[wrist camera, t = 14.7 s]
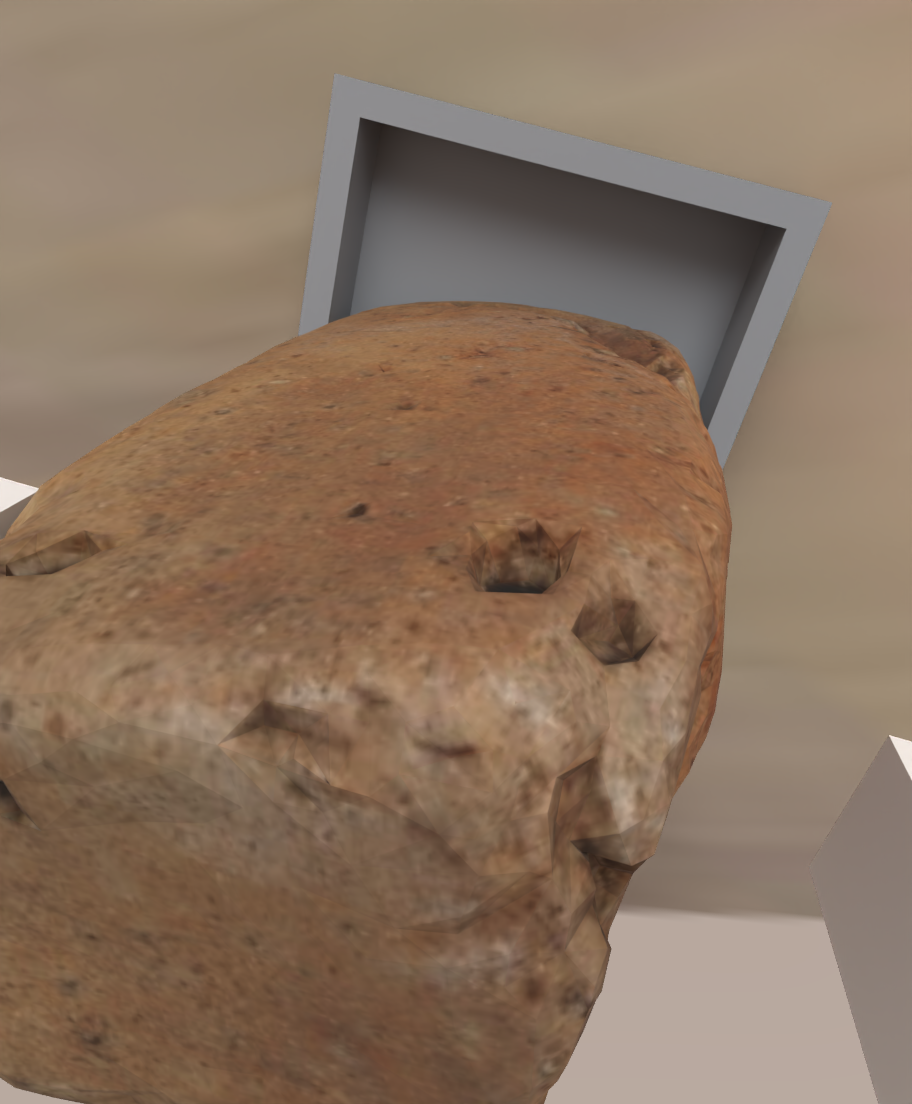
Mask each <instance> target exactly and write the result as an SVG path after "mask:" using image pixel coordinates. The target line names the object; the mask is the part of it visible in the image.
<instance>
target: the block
mask: <svg viewBox="0 0 912 1104" xmlns="http://www.w3.org/2000/svg"><path fill="white" fill-rule="evenodd" d="M731 531H732V522H731V516H730V508H729V503H728V498H727V493H726V487H725V482H724V477H723V472H722V468H721V466H720V464H719V462H718V457H717V453H716V449H715V446H714V444H713V442H712V439H711V437H710V435H709V433H708V430H707V428H706V427H705V426H704V423H703V420H702V416H701V412H700V407H699V395H698V393H697V391H696V385H695V381H694V376H693V374H692V372H691V370H690V368H689V366H688V364H687V362H686V361H685V359H684V357H683V356H682V354H681V352H680V351H679V349H678V348H677V347H675V346H674V345H673V344H671V343H670V342H669V341H667V340H666V339H664V338H663V337H661V336H659V335H657V334H655V333H653V332H651V331H644V330H636V329H632V328H630V327H629V326H626V325H622V324H618V323H614V322H610V321H606V320H602V319H599V318H595V317H591V316H587V315H582V314H577V313H572V312H567V311H562V310H556V309H548V308H539V307H534V306H529V305H522V304H512V303H503V302H483V301H436V302H416V303H408V304H399V305H390V306H382V307H378V308H374V309H370V310H366V311H362V312H360V313H358V314H354V315H351V316H348V317H345V318H342V319H339V320H336V321H333V322H331V323H328V324H326V325H324V326H322V327H319V328H317V329H315V330H312V331H310V332H308V333H305V334H303V335H300V336H297V337H295V338H293V339H291V340H289V341H286V342H284V343H282V344H279V345H277V346H275V347H273V348H271V349H269V350H268V351H266V352H264V353H262V354H261V355H259V356H257V357H255V358H253V359H252V360H250V361H248V362H247V363H245V364H243V365H241V366H238V367H236V368H234V369H233V370H231V371H229V372H227V373H225V374H223V375H222V376H220V377H218V378H216V379H214V380H212V381H209V382H207V383H205V384H203V385H201V386H199V387H196V388H194V389H192V390H190V391H188V392H186V393H184V394H182V395H180V396H179V397H177V398H175V399H174V400H172V401H170V402H169V403H167V404H165V405H164V406H162V407H160V408H159V409H157V410H156V411H154V412H153V413H152V414H150V415H149V416H147V417H145V418H143V419H142V420H140V421H138V422H136V423H135V424H133V425H131V426H129V427H128V428H126V429H124V430H123V432H120V433H119V434H117V435H115V436H114V437H112V438H111V439H109V440H108V441H106V442H104V443H103V444H101V445H100V446H98V447H96V448H95V449H93V450H92V451H91V452H89V453H88V454H86V455H85V456H83V457H82V458H80V459H79V460H77V461H76V462H74V463H73V464H71V465H70V466H68V467H67V468H65V469H64V470H62V471H61V472H59V473H58V474H57V475H55V476H54V477H52V478H51V479H50V480H48V481H47V482H46V483H44V484H43V485H42V486H40V488H39V489H38V490H37V492H36V493H35V494H34V496H33V497H32V498H31V500H30V501H29V502H28V504H27V505H26V506H25V508H24V509H23V510H22V512H21V513H20V515H19V516H18V517H17V519H16V520H15V521H14V523H13V524H12V525H11V527H10V528H9V529H8V531H7V533H6V536H5V538H3V539H1V540H0V1078H2V1079H3V1080H4V1081H6V1082H7V1083H9V1084H11V1085H12V1086H13V1087H15V1088H19V1089H22V1090H26V1091H30V1092H34V1093H38V1094H42V1095H46V1096H50V1097H54V1098H59V1099H64V1100H69V1101H74V1102H80V1103H84V1104H544V1102H545V1099H546V1096H547V1093H548V1090H549V1089H550V1088H551V1087H552V1086H553V1085H554V1084H555V1083H556V1082H557V1081H558V1079H559V1078H560V1076H561V1074H562V1073H563V1071H564V1069H565V1067H566V1066H567V1064H568V1062H569V1060H570V1058H571V1055H572V1053H573V1051H574V1049H575V1047H576V1045H577V1043H578V1041H579V1039H580V1037H581V1035H582V1033H583V1030H584V1028H585V1026H586V1023H587V1021H588V1018H589V1016H590V1013H591V1011H592V1008H593V1006H594V1004H595V1001H596V999H597V998H598V996H599V994H600V993H601V991H602V987H603V983H604V978H605V974H606V970H607V965H608V961H609V956H610V952H611V947H610V944H609V942H608V934H609V929H610V927H611V925H612V922H613V920H614V917H615V915H616V913H617V910H618V908H619V905H620V903H621V901H622V898H623V896H624V893H625V891H626V889H627V886H628V884H629V881H630V879H631V876H632V874H633V873H634V871H636V870H637V869H638V868H639V867H640V866H641V865H642V864H643V863H644V862H645V861H646V860H647V859H648V858H650V857H651V856H653V855H654V853H655V850H656V847H657V844H658V841H659V838H660V835H661V832H662V829H663V826H664V824H665V821H666V818H667V814H668V811H669V808H670V804H671V801H672V798H673V796H674V795H675V793H676V791H677V790H678V788H679V787H680V785H681V784H682V782H683V781H684V779H685V778H686V776H687V775H688V773H689V771H690V769H691V766H692V764H693V762H694V760H695V757H696V755H697V753H698V751H699V750H700V748H701V746H702V744H703V742H704V741H705V739H706V736H707V733H708V730H709V727H710V724H711V721H712V718H713V715H714V712H715V707H716V700H717V694H718V688H719V683H720V678H721V672H722V656H723V640H724V619H725V599H726V579H727V564H728V562H729V552H730V542H731Z"/></svg>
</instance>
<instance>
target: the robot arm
mask: <svg viewBox="0 0 912 1104" xmlns="http://www.w3.org/2000/svg"><path fill="white" fill-rule="evenodd" d="M37 490H38V488H35V487H32V486H28V485H25V484H21V483H18V482H14V481H11V480H7V479H4V478H1V477H0V540H1V539H3V538H5V536H6V533H7V531H8V529H9V528H10V527H11V525H12V524H13V523H14V521H15V520H16V519H17V517H18V516H19V515H20V513H21V512H22V510H23V509H24V508H25V506H26V505H27V504H28V502H29V501H30V500H31V498H32V497H33V496H34V494H35V493H36V492H37ZM809 869H810V872H811V876H812V879H813V883H814V886H815V889H816V893H817V896H818V900H819V903H820V906H821V910H822V913H823V917H824V920H825V923H826V927H827V930H828V933H829V937H830V940H831V944H832V947H833V951H834V954H835V958H836V961H837V964H838V968H839V971H840V975H841V978H842V981H843V985H844V988H845V992H846V995H847V998H848V1002H849V1005H850V1008H851V1012H852V1015H853V1019H854V1022H855V1025H856V1029H857V1032H858V1036H859V1039H860V1043H861V1046H862V1050H863V1053H864V1056H865V1060H866V1063H867V1067H868V1070H869V1073H870V1077H871V1080H872V1084H873V1087H874V1090H875V1094H876V1097H877V1101H878V1104H912V742H911V741H907V740H904V739H900V738H897V737H893V736H890V735H889V736H888V738H887V739H886V741H885V743H884V744H883V746H882V747H881V749H880V751H879V752H878V754H877V756H876V757H875V759H874V761H873V762H872V764H871V765H870V767H869V769H868V770H867V772H866V774H865V775H864V777H863V779H862V780H861V782H860V783H859V785H858V787H857V788H856V790H855V792H854V793H853V795H852V797H851V798H850V800H849V802H848V803H847V805H846V806H845V808H844V810H843V811H842V813H841V815H840V816H839V818H838V820H837V821H836V823H835V824H834V826H833V828H832V829H831V831H830V833H829V834H828V836H827V838H826V839H825V841H824V842H823V844H822V846H821V847H820V849H819V851H818V852H817V854H816V856H815V857H814V859H813V860H812V862H811V864H810V865H809Z"/></svg>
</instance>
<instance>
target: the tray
mask: <svg viewBox="0 0 912 1104" xmlns="http://www.w3.org/2000/svg"><path fill="white" fill-rule="evenodd" d="M831 205H832V203H831V202H827V201H824V200H820V199H816V198H812V197H808V196H804V195H800V194H797V193H793V192H789V191H785V190H781V189H777V188H774V187H770V186H766V185H762V184H758V183H754V182H750V181H747V180H743V179H739V178H735V177H731V176H727V175H724V174H720V173H716V172H712V171H708V170H704V169H700V168H697V167H693V166H689V165H685V164H681V163H677V162H674V161H670V160H666V159H662V158H658V157H654V156H650V155H647V154H643V153H639V152H635V151H631V150H627V149H624V148H620V147H616V146H612V145H608V144H604V143H600V142H597V141H593V140H589V139H585V138H581V137H577V136H574V135H570V134H566V133H562V132H558V131H554V130H550V129H547V128H543V127H539V126H535V125H531V124H527V123H524V122H520V121H516V120H512V119H508V118H504V117H500V116H497V115H493V114H489V113H485V112H481V111H477V110H474V109H470V108H466V107H462V106H458V105H454V104H450V103H447V102H443V101H439V100H435V99H431V98H427V97H424V96H420V95H416V94H412V93H408V92H404V91H400V90H397V89H393V88H389V87H385V86H381V85H377V84H374V83H370V82H366V81H362V80H358V79H354V78H350V77H347V76H343V75H339V74H334V81H333V88H332V96H331V103H330V110H329V117H328V124H327V132H326V139H325V146H324V153H323V160H322V167H321V175H320V182H319V189H318V196H317V203H316V211H315V218H314V225H313V232H312V239H311V247H310V254H309V261H308V268H307V275H306V282H305V290H304V297H303V304H302V311H301V318H300V326H299V333H298V336H300V335H303V334H305V333H308V332H310V331H312V330H315V329H317V328H319V327H322V326H324V325H326V324H328V323H331V322H333V321H336V320H339V319H342V318H345V317H348V316H351V315H354V314H358V313H360V312H362V311H366V310H370V309H374V308H378V307H382V306H390V305H399V304H408V303H416V302H436V301H483V302H503V303H512V304H522V305H529V306H534V307H539V308H548V309H556V310H562V311H567V312H572V313H577V314H582V315H587V316H591V317H595V318H599V319H602V320H606V321H610V322H614V323H618V324H622V325H626V326H629V327H630V328H632V329H636V330H644V331H651V332H653V333H655V334H657V335H659V336H661V337H663V338H664V339H666V340H667V341H669V342H670V343H671V344H673V345H674V346H675V347H677V348H678V349H679V351H680V352H681V354H682V356H683V357H684V359H685V361H686V362H687V364H688V366H689V368H690V370H691V372H692V374H693V376H694V381H695V385H696V391H697V393H698V395H699V407H700V412H701V416H702V420H703V423H704V426H705V427H706V428H707V430H708V433H709V435H710V437H711V439H712V442H713V444H714V446H715V449H716V453H717V457H718V462H719V464H720V466H721V468H722V470H723V467H724V465H725V462H726V460H727V458H728V455H729V453H730V450H731V448H732V445H733V443H734V441H735V438H736V436H737V433H738V431H739V428H740V426H741V424H742V421H743V419H744V416H745V414H746V411H747V409H748V407H749V404H750V402H751V399H752V397H753V394H754V392H755V390H756V387H757V385H758V382H759V380H760V377H761V375H762V373H763V370H764V368H765V365H766V363H767V360H768V358H769V356H770V353H771V351H772V348H773V346H774V343H775V341H776V339H777V336H778V334H779V331H780V329H781V326H782V324H783V322H784V319H785V317H786V314H787V312H788V309H789V307H790V304H791V302H792V300H793V297H794V295H795V292H796V290H797V287H798V285H799V283H800V280H801V278H802V275H803V273H804V270H805V268H806V266H807V263H808V261H809V258H810V256H811V253H812V251H813V249H814V246H815V244H816V241H817V239H818V236H819V234H820V232H821V229H822V227H823V224H824V222H825V219H826V217H827V215H828V212H829V210H830V207H831Z"/></svg>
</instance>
